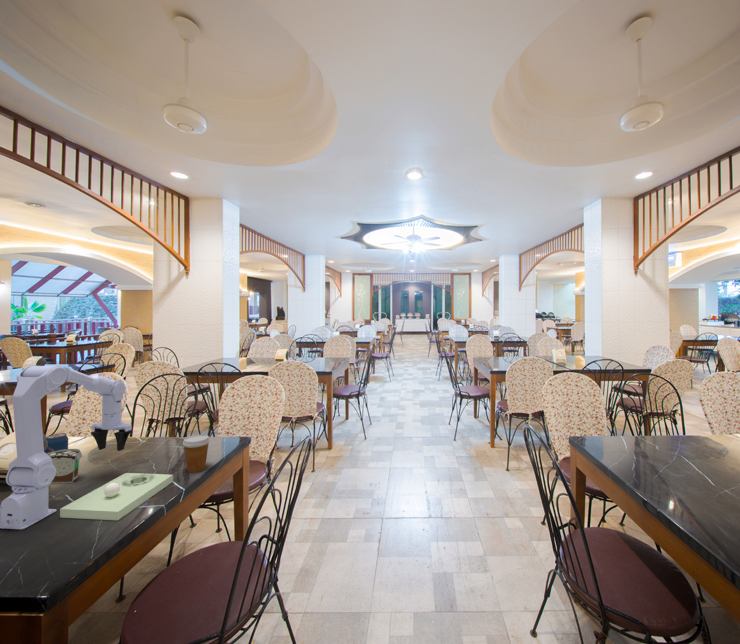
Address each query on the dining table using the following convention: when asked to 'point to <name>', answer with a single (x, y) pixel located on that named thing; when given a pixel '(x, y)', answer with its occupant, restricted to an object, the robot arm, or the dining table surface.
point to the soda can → (57, 442)
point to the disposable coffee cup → (196, 452)
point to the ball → (111, 489)
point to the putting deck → (117, 497)
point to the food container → (65, 465)
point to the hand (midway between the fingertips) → (111, 449)
